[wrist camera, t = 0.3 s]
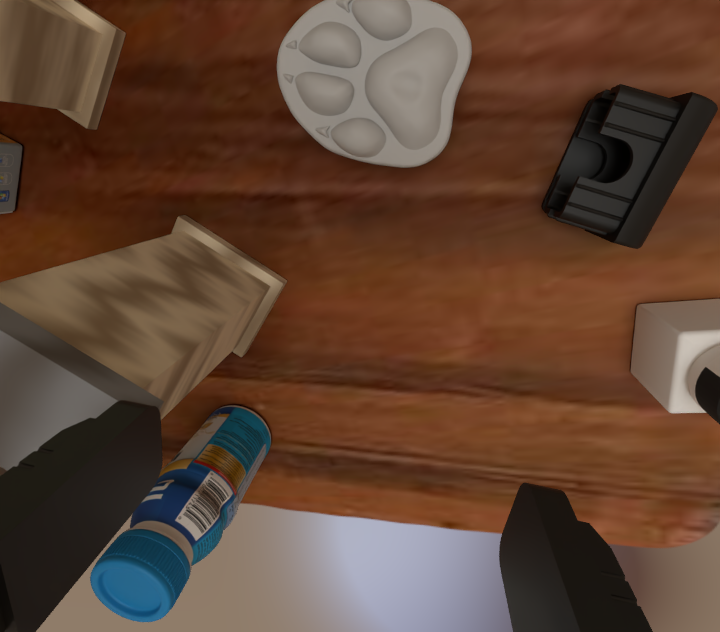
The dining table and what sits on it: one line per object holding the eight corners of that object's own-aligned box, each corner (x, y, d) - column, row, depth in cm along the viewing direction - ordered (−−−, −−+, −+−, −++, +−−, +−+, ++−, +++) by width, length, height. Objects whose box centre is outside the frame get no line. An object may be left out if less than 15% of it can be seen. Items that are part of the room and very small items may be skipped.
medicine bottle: (712, 369, 38) (830, 454, 27) (628, 372, 40) (707, 455, 28) (725, 296, 36) (859, 357, 25) (635, 303, 37) (723, 363, 26)
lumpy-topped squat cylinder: (436, 176, 36) (438, 180, 28) (295, 143, 37) (258, 138, 29) (473, 39, 32) (488, -1, 24) (314, 6, 33) (278, -44, 25)
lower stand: (291, 283, 42) (149, 411, 20) (250, 355, 45) (93, 526, 24) (180, 212, 41) (-90, 267, 19) (147, 291, 44) (-110, 410, 23)
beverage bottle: (275, 465, 50) (187, 641, 32) (210, 455, 51) (88, 620, 33) (272, 406, 47) (173, 563, 29) (204, 397, 48) (66, 543, 30)
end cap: (615, 239, 36) (655, 255, 29) (536, 215, 36) (559, 226, 30) (680, 116, 32) (742, 105, 26) (591, 90, 32) (631, 73, 26)
